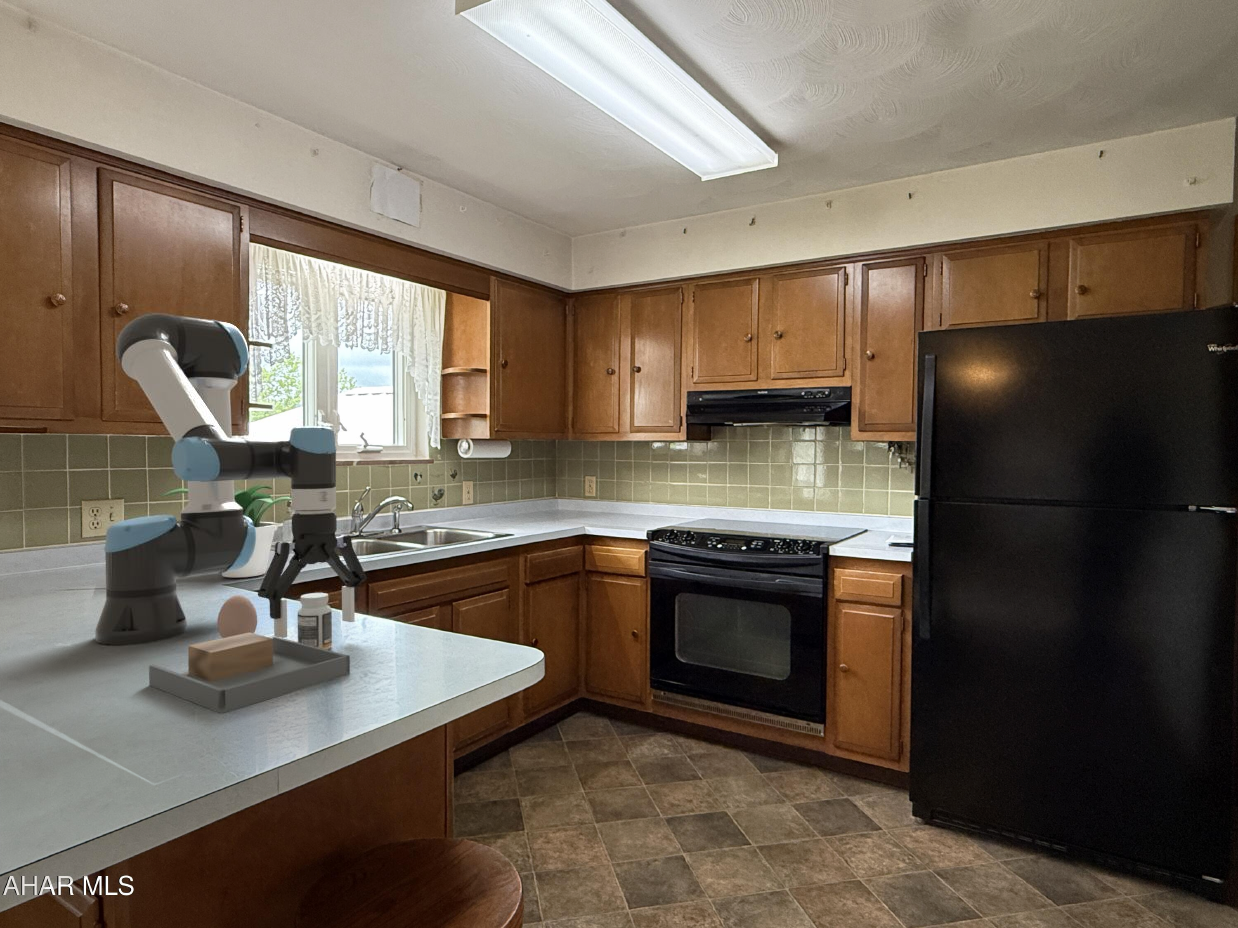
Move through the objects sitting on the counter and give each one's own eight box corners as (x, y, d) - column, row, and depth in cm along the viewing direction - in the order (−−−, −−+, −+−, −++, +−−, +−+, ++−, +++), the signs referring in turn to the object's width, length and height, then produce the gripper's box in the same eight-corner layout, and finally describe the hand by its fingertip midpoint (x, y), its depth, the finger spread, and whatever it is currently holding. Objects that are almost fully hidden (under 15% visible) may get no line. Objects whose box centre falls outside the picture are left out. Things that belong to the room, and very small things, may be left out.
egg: (209, 648, 132) (209, 598, 132) (229, 639, 139) (229, 591, 139) (246, 648, 132) (245, 599, 132) (264, 639, 139) (263, 591, 139)
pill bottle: (321, 643, 136) (321, 590, 136) (337, 648, 133) (337, 594, 132) (291, 649, 132) (291, 595, 132) (307, 655, 128) (307, 599, 128)
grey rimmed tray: (149, 684, 112) (149, 665, 112) (275, 653, 129) (275, 636, 129) (221, 713, 100) (220, 690, 100) (349, 674, 118) (349, 655, 117)
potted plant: (160, 572, 211) (159, 485, 210) (290, 562, 230) (290, 482, 229) (163, 591, 184) (162, 490, 184) (310, 577, 204) (310, 487, 203)
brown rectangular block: (188, 673, 116) (188, 645, 116) (249, 658, 124) (249, 632, 124) (211, 681, 112) (211, 652, 112) (273, 665, 120) (272, 638, 120)
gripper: (259, 518, 119) (261, 646, 120) (384, 507, 140) (385, 617, 140) (234, 516, 123) (236, 640, 124) (359, 506, 144) (361, 613, 144)
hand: (316, 628), depth 132 cm, fingers open, 13 cm apart
